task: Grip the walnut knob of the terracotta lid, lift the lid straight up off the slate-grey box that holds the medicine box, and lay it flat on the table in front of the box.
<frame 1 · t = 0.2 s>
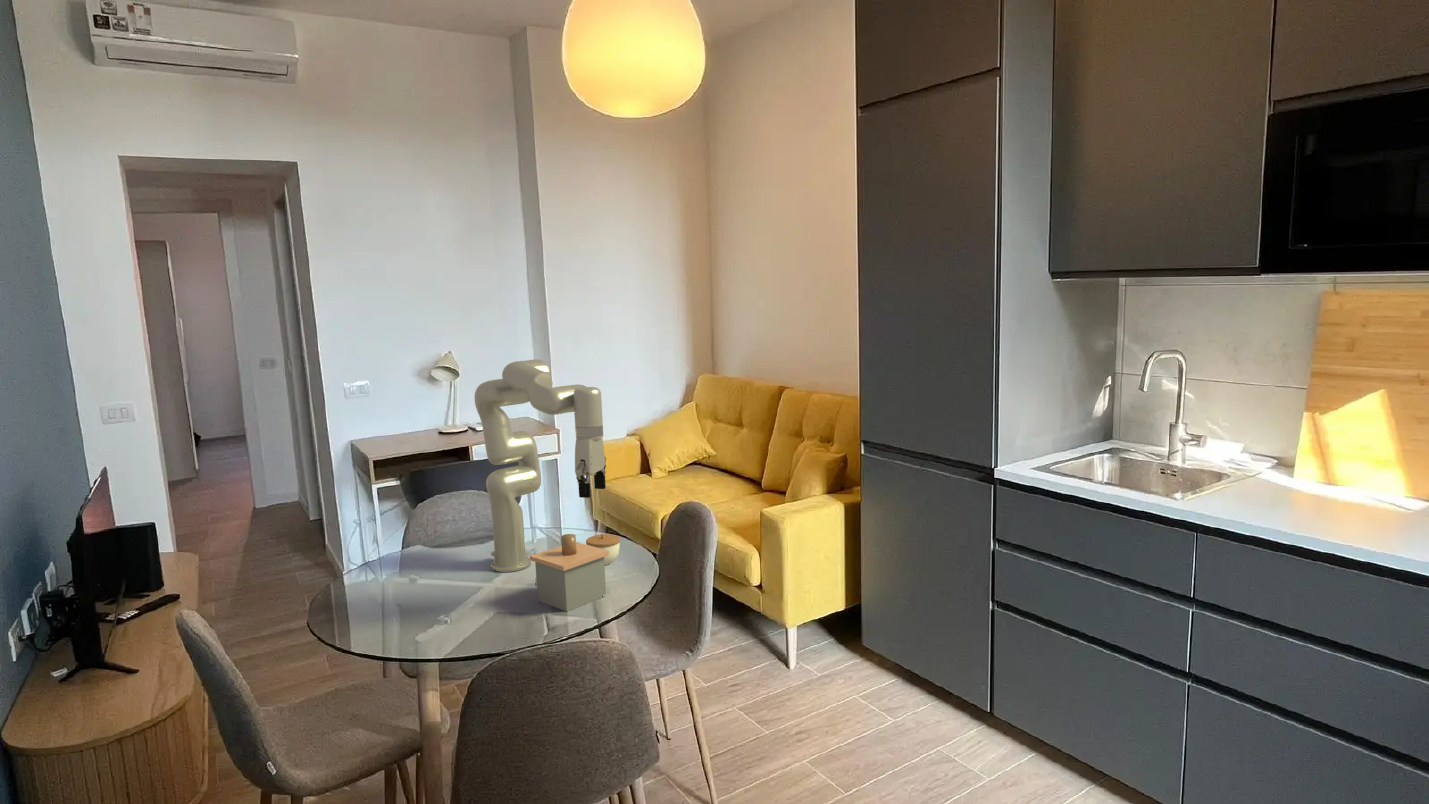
hand: (592, 492, 221), 30 cm above the table, tool pointing down, fingers open, 9 cm apart
lid: (569, 560, 224), point 11 cm above the table, touching storage box
storage box: (572, 598, 225), on the table
lidded jar: (604, 563, 255), on the table
medicine box: (572, 599, 225), resting in storage box
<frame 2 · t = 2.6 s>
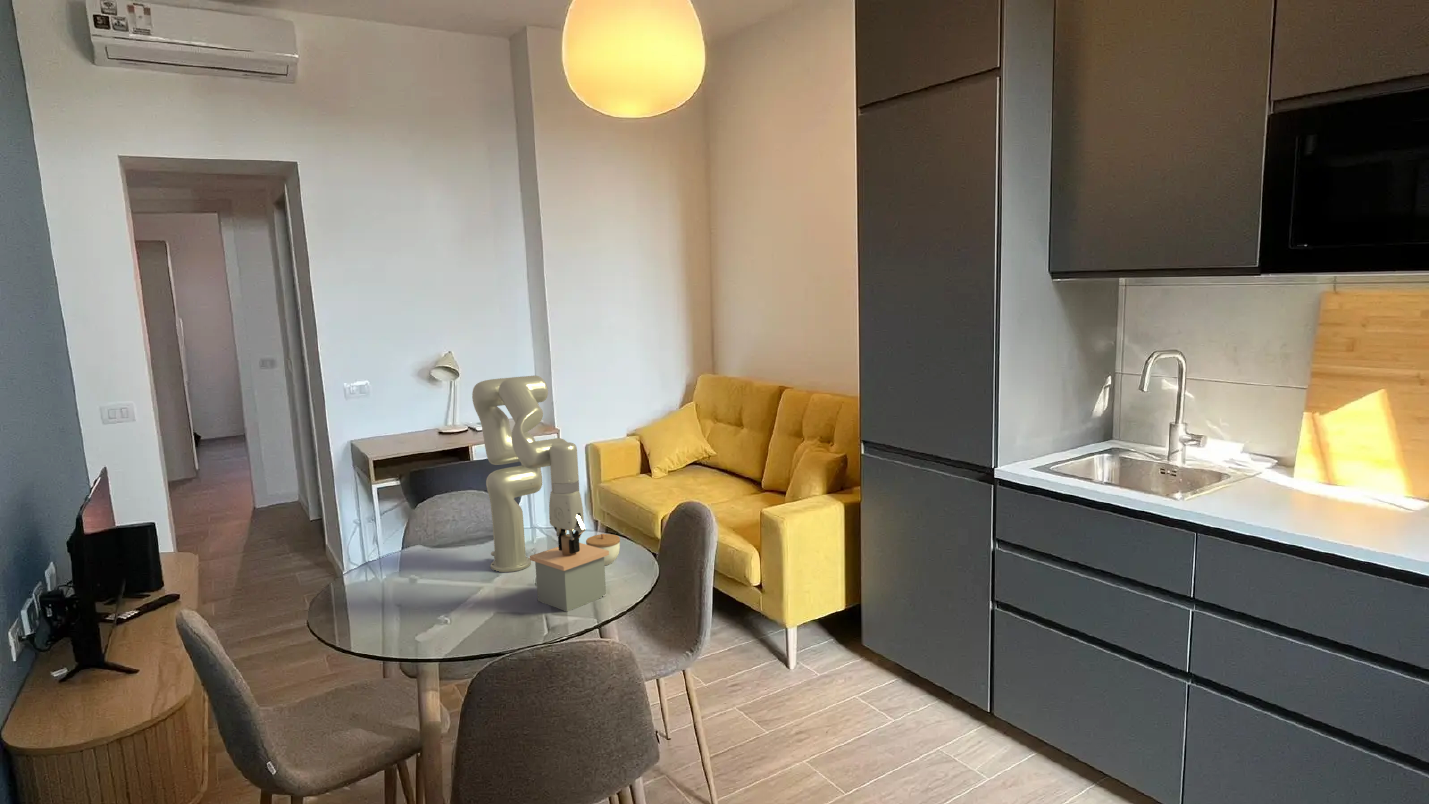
hand: (569, 550, 223), 14 cm above the table, tool pointing down, fingers closed on lid, 4 cm apart
lid: (569, 560, 224), point 11 cm above the table, touching gripper, storage box
everything else where it was.
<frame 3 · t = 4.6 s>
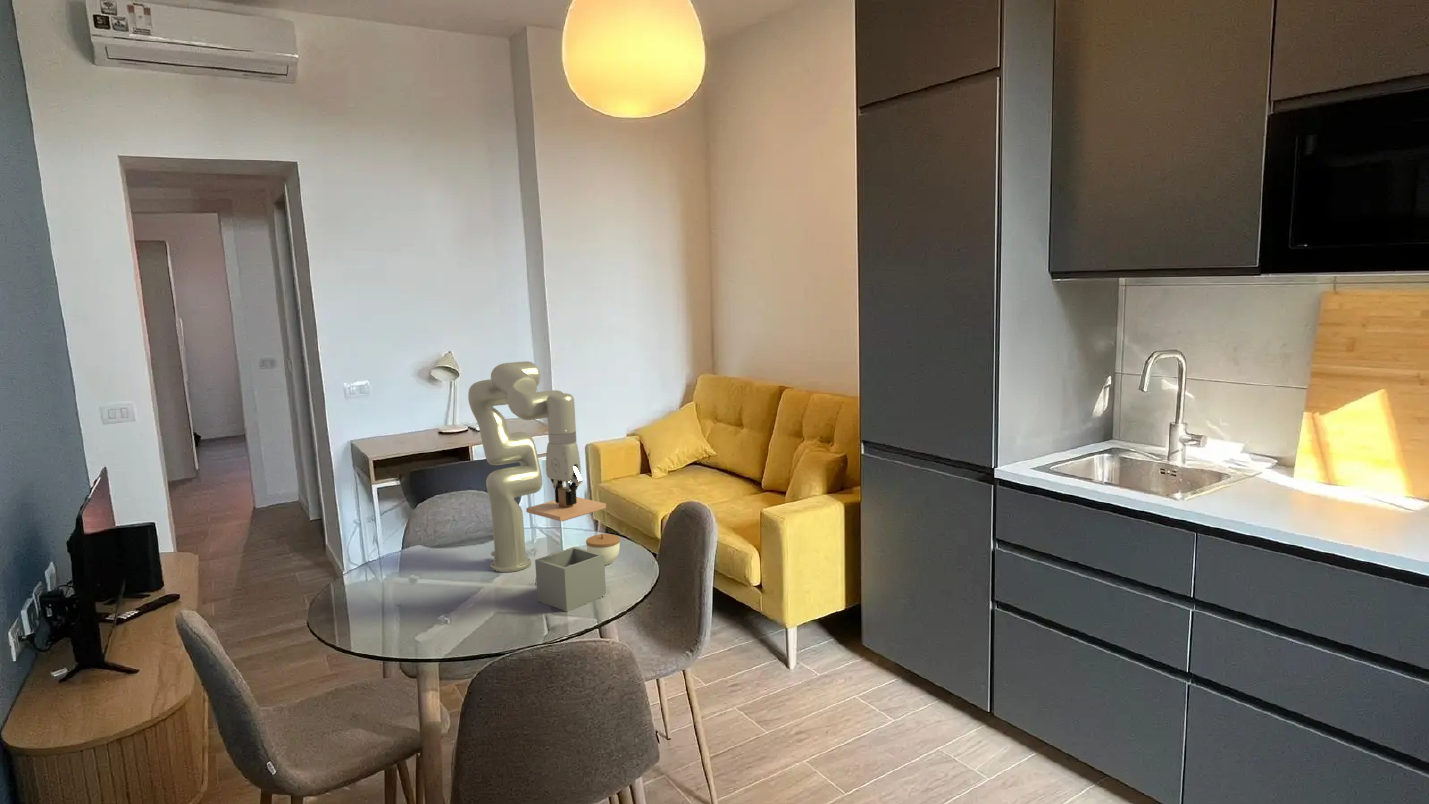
hand: (566, 502, 222), 28 cm above the table, tool pointing down, fingers closed on lid, 4 cm apart
lid: (566, 513, 222), point 25 cm above the table, touching gripper
everything else where it was.
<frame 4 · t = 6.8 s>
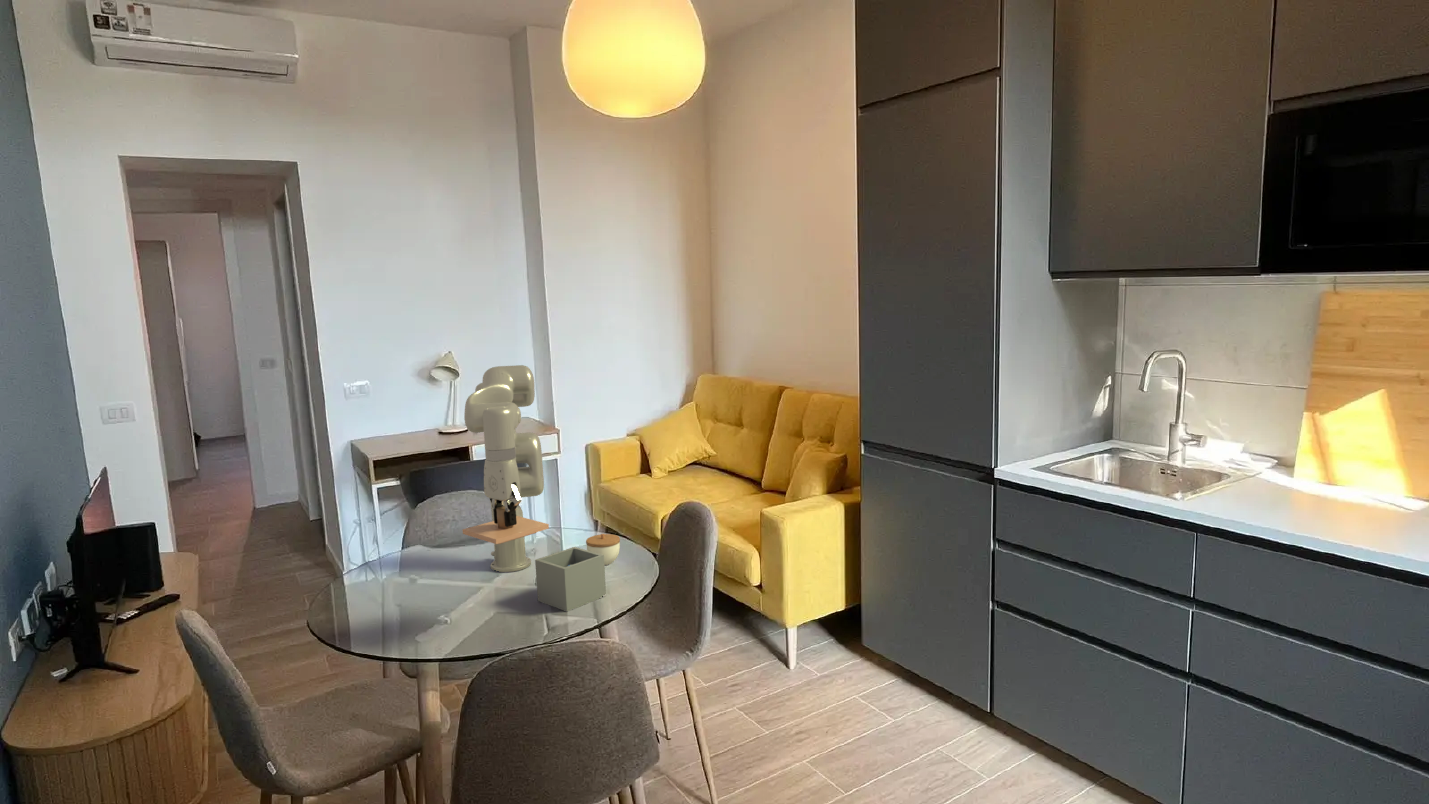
hand: (505, 523, 207), 27 cm above the table, tool pointing down, fingers closed on lid, 4 cm apart
lid: (506, 534, 207), point 24 cm above the table, touching gripper
everything else where it was.
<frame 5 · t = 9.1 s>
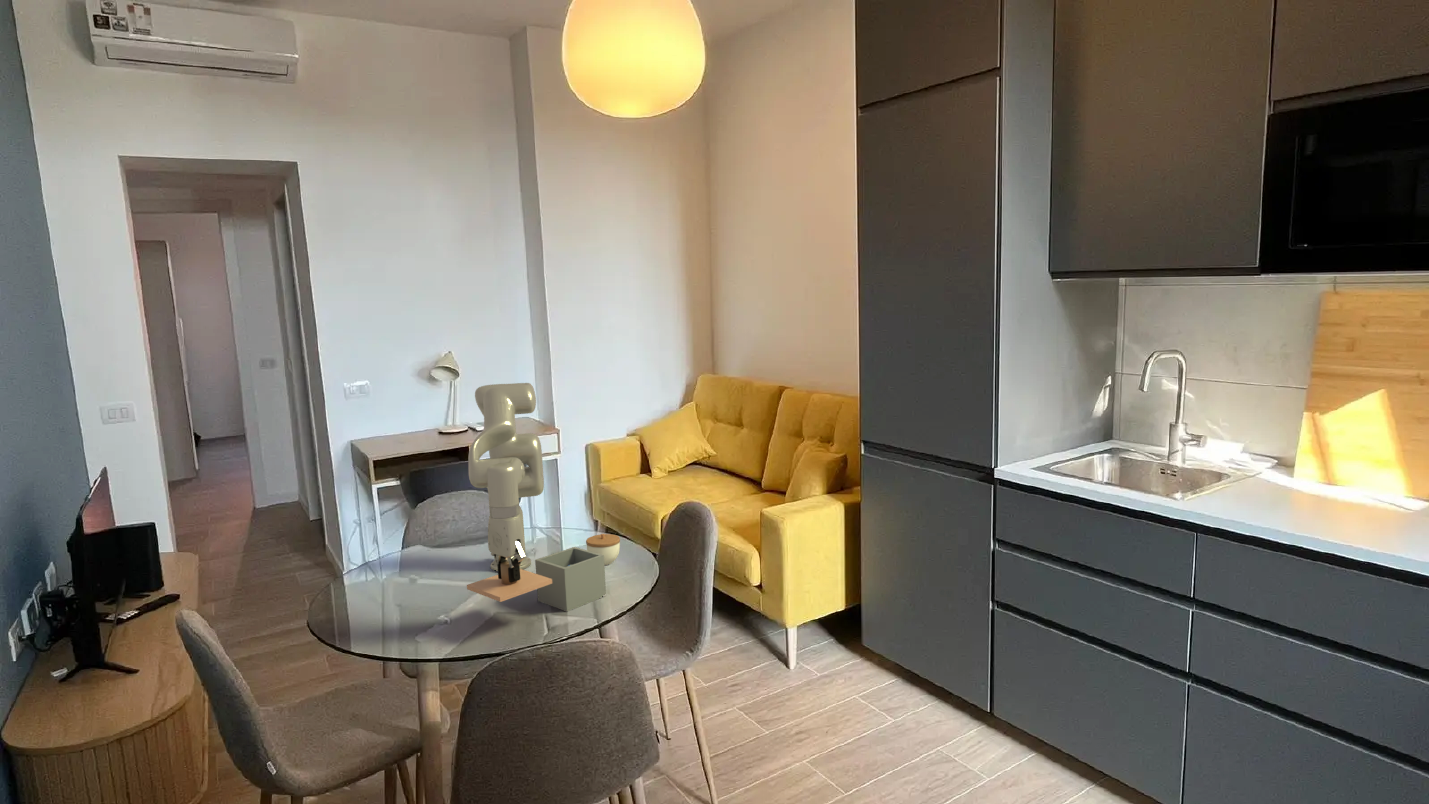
hand: (509, 578, 209), 12 cm above the table, tool pointing down, fingers closed on lid, 4 cm apart
lid: (510, 590, 209), point 9 cm above the table, touching gripper
everything else where it was.
when the fingers open (4 cm above the table, at t = 11.0 s): lid drops 1 cm, on the table.
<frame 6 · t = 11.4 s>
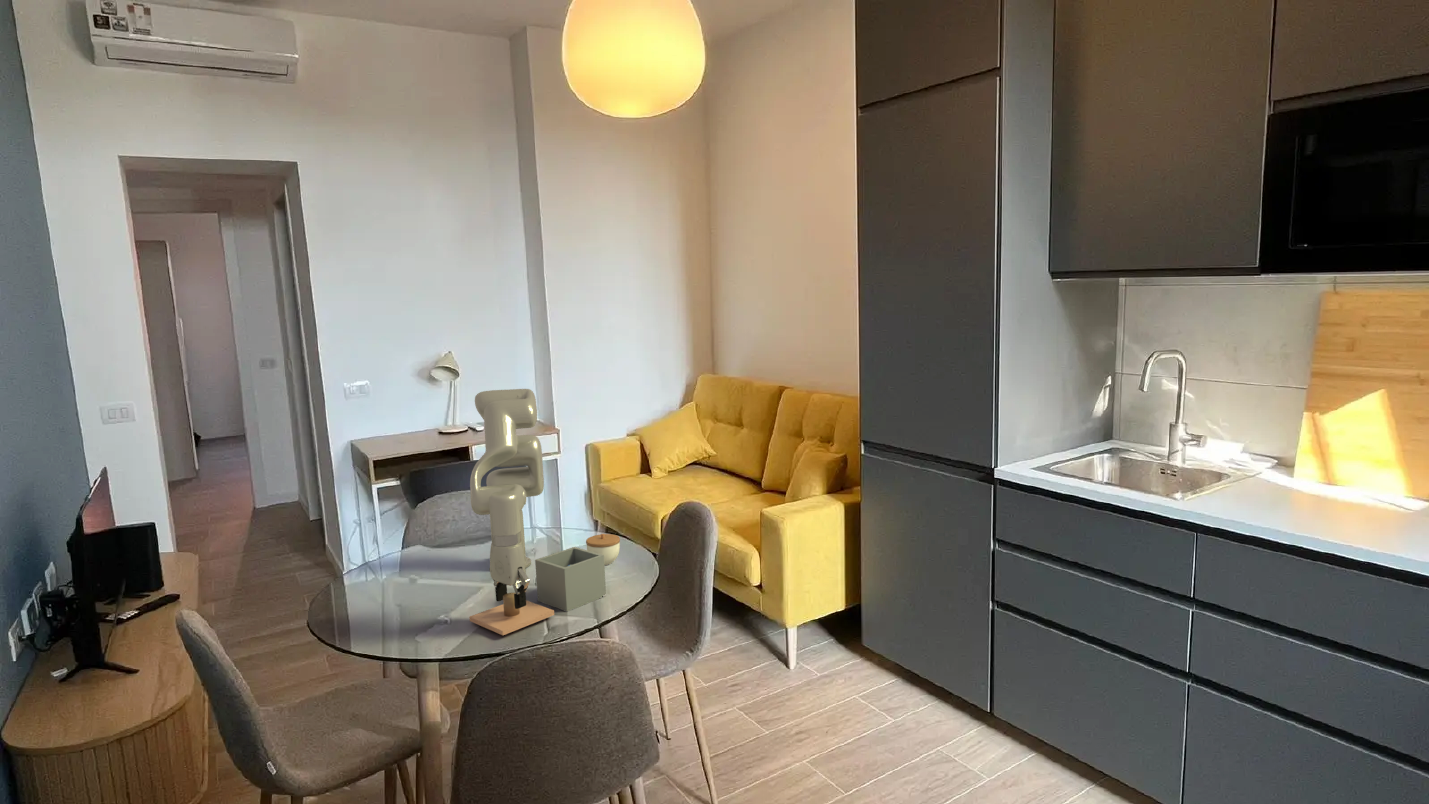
hand: (511, 603, 210), 5 cm above the table, tool pointing down, fingers open, 7 cm apart
lid: (512, 621, 210), on the table
everything else where it was.
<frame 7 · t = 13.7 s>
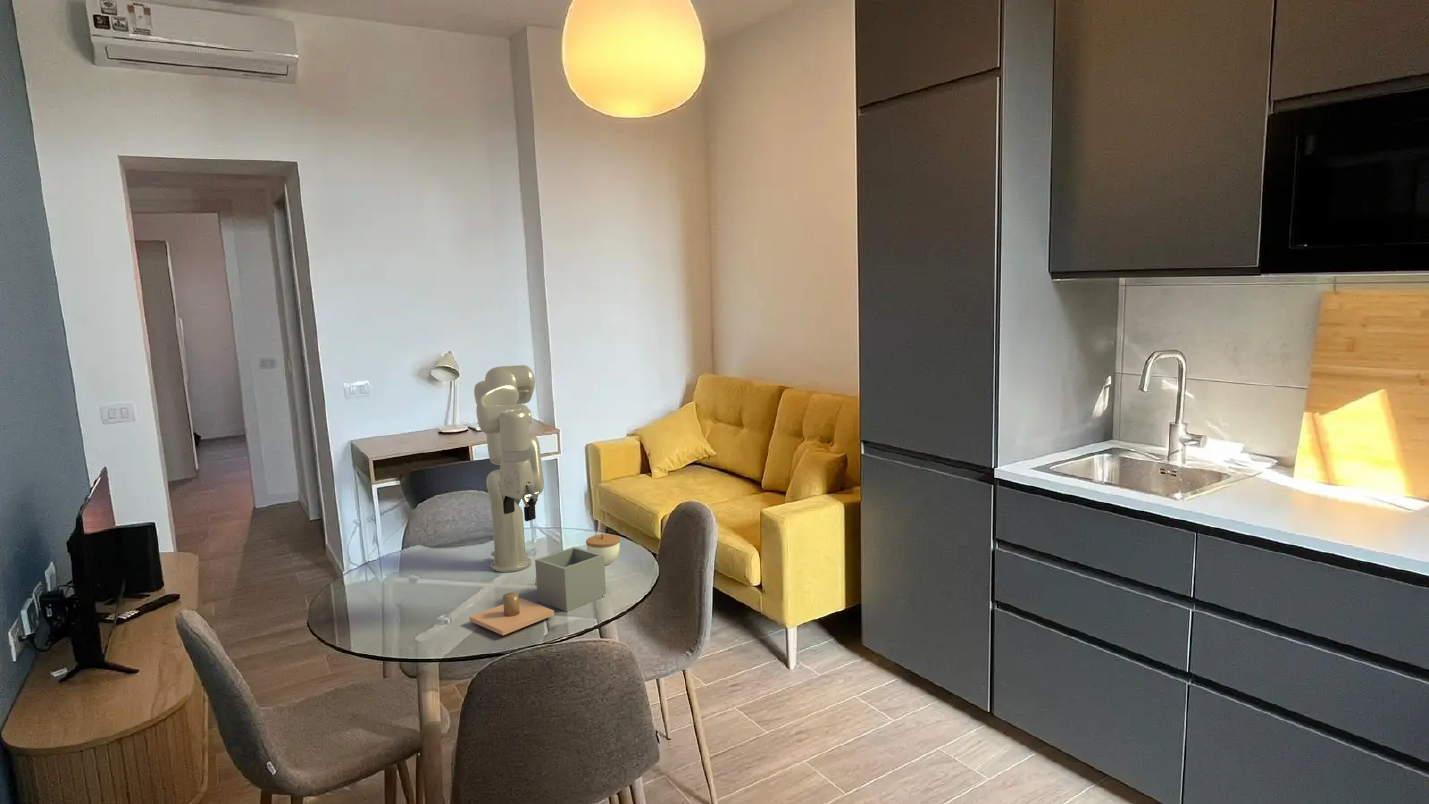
hand: (519, 516, 217), 26 cm above the table, tool pointing down, fingers open, 9 cm apart
nothing on the table moved.
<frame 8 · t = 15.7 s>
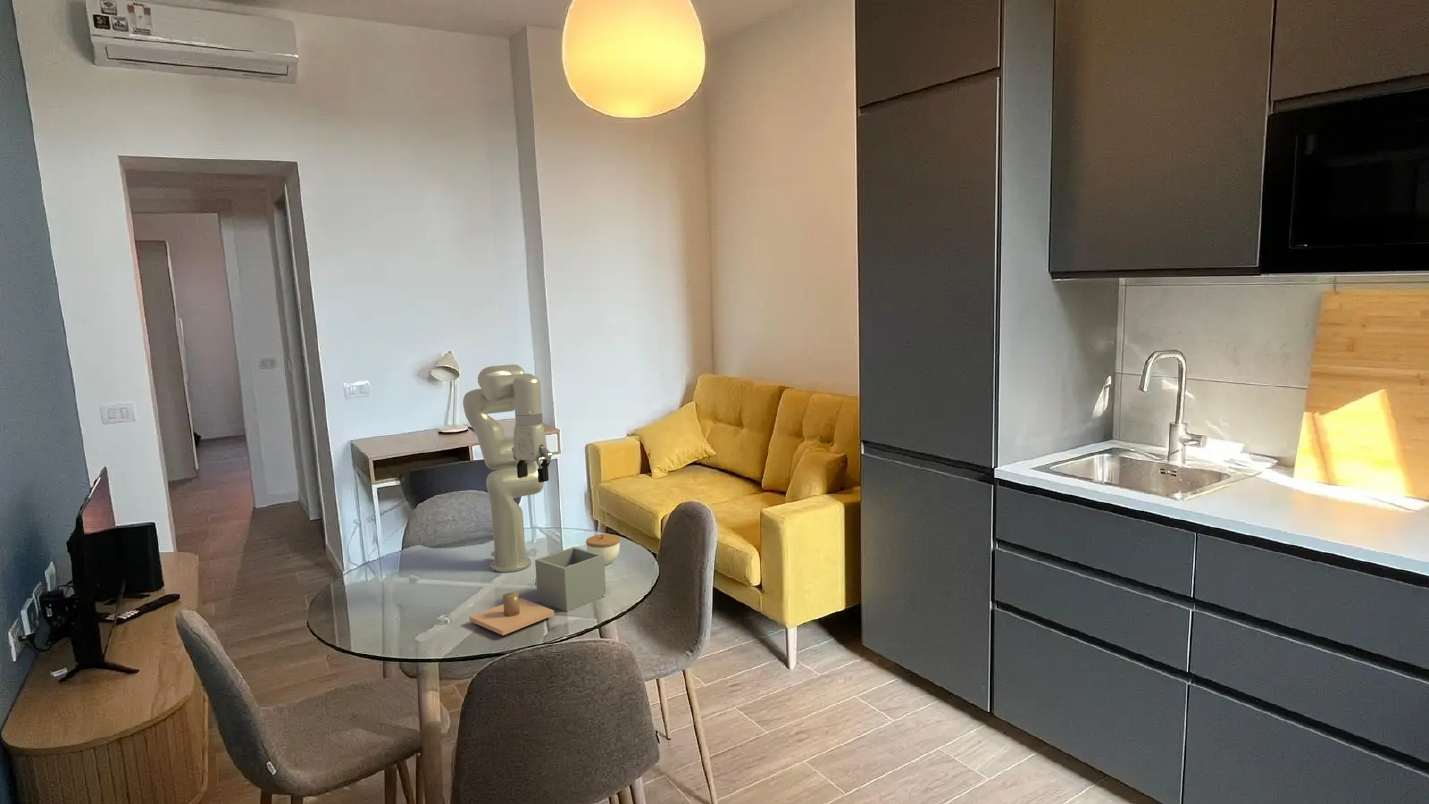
hand: (533, 479, 227), 33 cm above the table, tool pointing down, fingers open, 9 cm apart
nothing on the table moved.
at the end: lid inside the target area (0.1 cm from its centre), on the table; lid tilted 0°; the gripper is holding nothing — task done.
